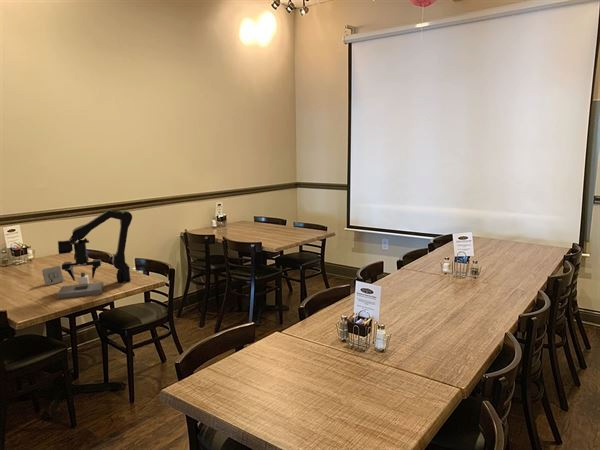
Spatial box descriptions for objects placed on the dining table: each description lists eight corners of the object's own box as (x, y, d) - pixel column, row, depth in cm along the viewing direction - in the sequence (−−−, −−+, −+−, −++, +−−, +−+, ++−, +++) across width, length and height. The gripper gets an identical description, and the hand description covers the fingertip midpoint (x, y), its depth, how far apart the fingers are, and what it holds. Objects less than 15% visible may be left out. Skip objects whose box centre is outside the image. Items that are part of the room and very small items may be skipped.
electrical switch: (46, 286, 246) (43, 269, 245) (42, 285, 249) (40, 268, 248) (64, 281, 253) (61, 265, 252) (60, 281, 256) (57, 265, 255)
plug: (89, 285, 246) (87, 271, 244) (88, 287, 242) (86, 273, 240) (80, 286, 244) (79, 272, 243) (79, 288, 240) (77, 274, 239)
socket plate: (103, 286, 243) (103, 282, 243) (101, 294, 231) (100, 289, 230) (62, 290, 237) (62, 286, 237) (57, 299, 225) (57, 294, 225)
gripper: (101, 246, 250) (104, 273, 253) (64, 249, 244) (67, 277, 247) (98, 251, 239) (101, 279, 242) (59, 254, 234) (63, 283, 237)
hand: (83, 279), depth 242 cm, fingers open, 9 cm apart
